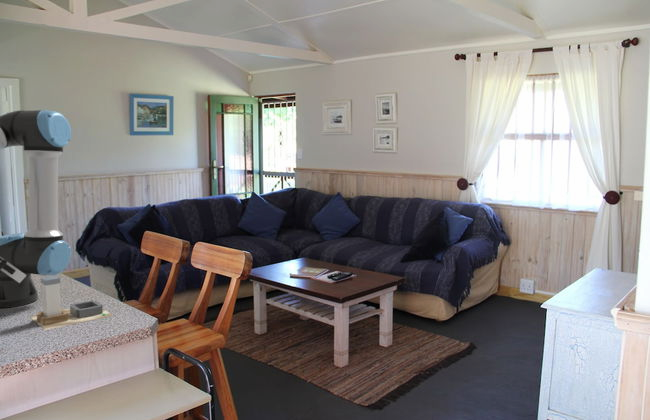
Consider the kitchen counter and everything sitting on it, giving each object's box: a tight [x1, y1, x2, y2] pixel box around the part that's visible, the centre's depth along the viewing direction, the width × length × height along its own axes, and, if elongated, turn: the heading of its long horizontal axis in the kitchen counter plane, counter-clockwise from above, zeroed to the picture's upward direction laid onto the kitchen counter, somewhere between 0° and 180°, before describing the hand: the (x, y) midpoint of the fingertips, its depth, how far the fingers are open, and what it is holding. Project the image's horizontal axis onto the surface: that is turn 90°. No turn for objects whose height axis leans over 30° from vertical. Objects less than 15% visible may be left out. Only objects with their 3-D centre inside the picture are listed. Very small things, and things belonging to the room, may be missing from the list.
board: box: [29, 308, 115, 331], centre depth 175 cm, size 16×20×1 cm
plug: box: [40, 275, 62, 317], centre depth 170 cm, size 4×4×13 cm
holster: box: [36, 308, 69, 325], centre depth 171 cm, size 7×7×2 cm
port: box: [69, 299, 106, 318], centre depth 177 cm, size 10×8×2 cm
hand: (16, 274), depth 163 cm, fingers open, 13 cm apart
